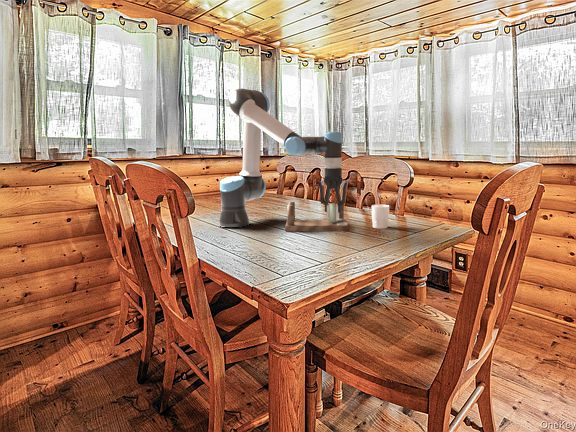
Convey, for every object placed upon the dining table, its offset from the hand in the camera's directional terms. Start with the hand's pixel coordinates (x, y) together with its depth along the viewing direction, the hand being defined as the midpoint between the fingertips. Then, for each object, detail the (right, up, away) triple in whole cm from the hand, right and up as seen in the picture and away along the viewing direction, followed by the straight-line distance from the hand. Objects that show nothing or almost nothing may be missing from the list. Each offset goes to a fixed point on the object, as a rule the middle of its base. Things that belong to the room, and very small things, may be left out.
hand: (333, 219), depth 172 cm
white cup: (+22, -4, +2) cm, 22 cm away
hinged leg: (+2, -1, +2) cm, 3 cm away
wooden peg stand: (-7, -4, +4) cm, 9 cm away
